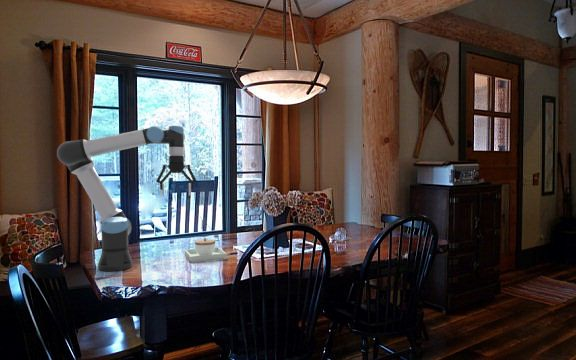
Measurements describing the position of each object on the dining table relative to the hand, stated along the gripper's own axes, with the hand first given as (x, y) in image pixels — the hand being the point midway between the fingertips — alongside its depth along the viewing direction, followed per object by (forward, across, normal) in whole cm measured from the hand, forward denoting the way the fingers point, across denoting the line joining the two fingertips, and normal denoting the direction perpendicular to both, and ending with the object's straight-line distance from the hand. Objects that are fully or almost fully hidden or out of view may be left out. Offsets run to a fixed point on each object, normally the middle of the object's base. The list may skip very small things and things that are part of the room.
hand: (176, 195), depth 215 cm
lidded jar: (+32, -14, +4) cm, 35 cm away
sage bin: (+33, -14, +4) cm, 36 cm away
